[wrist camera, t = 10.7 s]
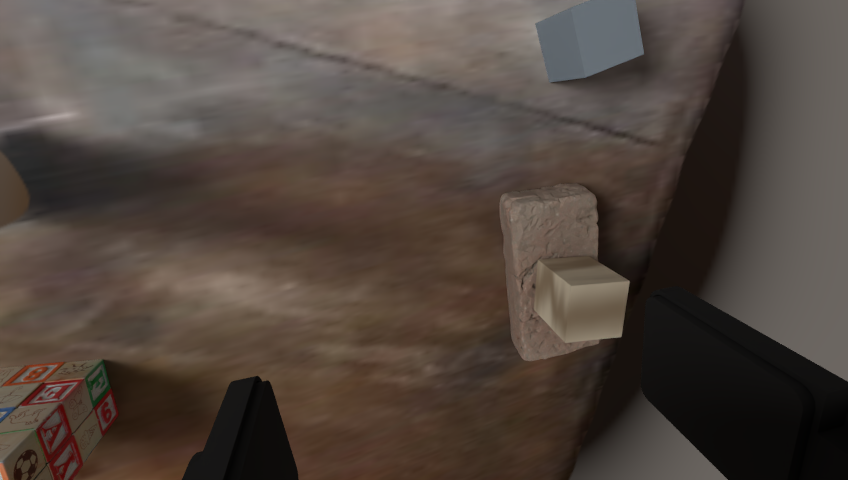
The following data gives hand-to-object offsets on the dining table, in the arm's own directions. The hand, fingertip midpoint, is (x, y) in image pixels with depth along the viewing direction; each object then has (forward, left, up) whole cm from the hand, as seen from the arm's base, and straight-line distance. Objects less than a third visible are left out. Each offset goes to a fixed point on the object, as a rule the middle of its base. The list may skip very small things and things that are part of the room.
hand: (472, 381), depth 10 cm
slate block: (-10, +18, -29) cm, 36 cm away
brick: (+11, +15, -30) cm, 35 cm away
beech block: (+11, +15, -25) cm, 31 cm away
